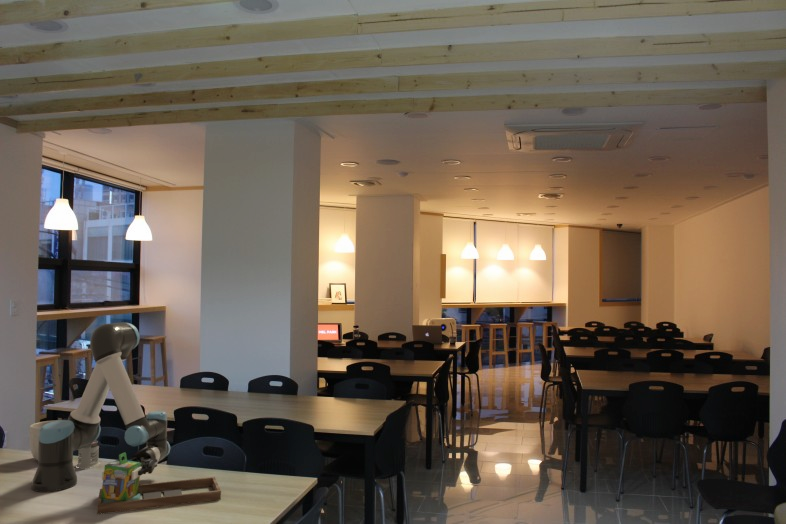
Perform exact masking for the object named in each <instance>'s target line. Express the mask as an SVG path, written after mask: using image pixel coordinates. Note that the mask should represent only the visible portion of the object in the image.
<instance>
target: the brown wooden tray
mask: <svg viewBox="0 0 786 524" xmlns="http://www.w3.org/2000/svg"><path fill="white" fill-rule="evenodd" d="M212 486H213V487H212ZM203 487H212V489H213V490H209V491H201V492H192V493H182V495H173V496H165V497H164V496H162V497H156V498H147V499H143V498H141V499H139V500H130V501H121V502H112V503H104V504H102V499H101V493H102V488H100V489H99V493H98V498H97V507H96V515H104V514H110V513H119V512H128V511H129V512H130V511H136V510H137V511H138V510H144V509H151V508H159V507H170V506H177V505H178V506H180V505H185V504H193V503H194V504H195V503H201V502H211V501H219V499H220V500H221V498H222V496H221V495H222V491H221V489H220V488H221V487H220V486H219V483H218V481H217V478H216V477H215V476H210V477H209V476H208V477H200V478H191V479H190V478H189V479H181V480H172V481H162V482H153V483H144V484H139V486H138V493H140V495H143V493H146V492H155V491H161V492H164V490H173V489H181V490H185V489H195V488H203ZM101 513H102V514H101ZM103 513H104V514H103Z"/></svg>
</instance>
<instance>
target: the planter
mask: <svg viewBox="0 0 786 524" xmlns="http://www.w3.org/2000/svg"><path fill="white" fill-rule="evenodd" d="M55 421H60V419H59V420H57V419H56V420H46V421H40V422H35V423H32V424H30V425H29V440H30V446H29V447H30V453H31V455H32V457H33V458H34V459H35V460H36V461H38V449H39V439H38V437H39V432H40V429H41V427H42V426H44V425H45V424H47V423H50V422H55Z"/></svg>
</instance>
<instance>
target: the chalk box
mask: <svg viewBox="0 0 786 524" xmlns="http://www.w3.org/2000/svg"><path fill="white" fill-rule="evenodd" d="M121 459H124V460H121ZM127 460H128V458H127V453H126V452H122V453H120V454H118V459H117V460H113V461H111V462H109V463H106V464H104V470H103V471H104V477H103V480H102V486H101V489H102V493H101V499H107V500H116V501H127V500H129V499H130V498H132V497H134V496H136V495H137V494H138V486H139V485H140V480H141V479H140V477H141V475H140V476H139V477H137V478H136V479H134V480H131V479H132V472H133V471H134V470H136V469H137V468H139V467H141V463H140V462H134V461H127Z"/></svg>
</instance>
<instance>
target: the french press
mask: <svg viewBox="0 0 786 524" xmlns="http://www.w3.org/2000/svg"><path fill="white" fill-rule="evenodd" d="M99 448H100V445H99V441H98V440H97V439H96V440H95V441H94V442H93V443H92V444H90V445H89V446H86V447H84V448H81V449H78V450H77V451H78V455H77V457H78V458H77V464H76V465H75V466H77V467H79V468H89V469H91V468H90V467H94V466H98V465H99V464H101V463H100V461H99V453H100V452H99V450H100V449H99ZM98 467H99V466H98Z"/></svg>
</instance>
